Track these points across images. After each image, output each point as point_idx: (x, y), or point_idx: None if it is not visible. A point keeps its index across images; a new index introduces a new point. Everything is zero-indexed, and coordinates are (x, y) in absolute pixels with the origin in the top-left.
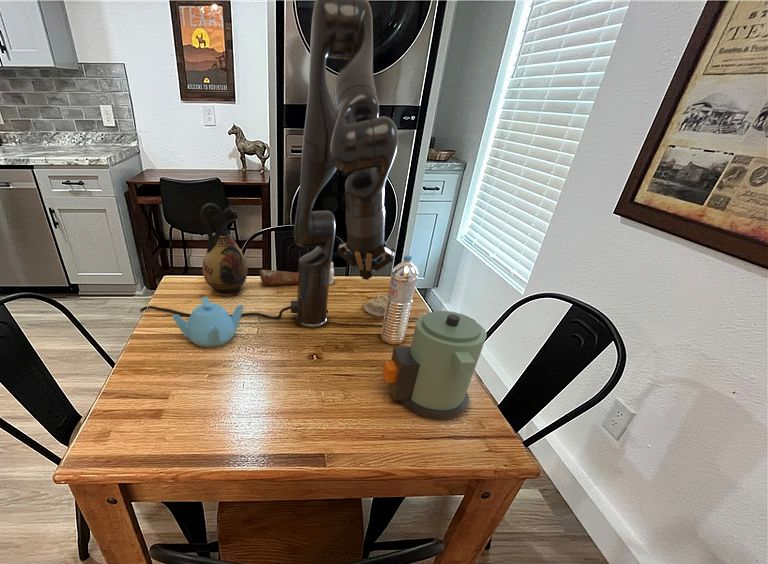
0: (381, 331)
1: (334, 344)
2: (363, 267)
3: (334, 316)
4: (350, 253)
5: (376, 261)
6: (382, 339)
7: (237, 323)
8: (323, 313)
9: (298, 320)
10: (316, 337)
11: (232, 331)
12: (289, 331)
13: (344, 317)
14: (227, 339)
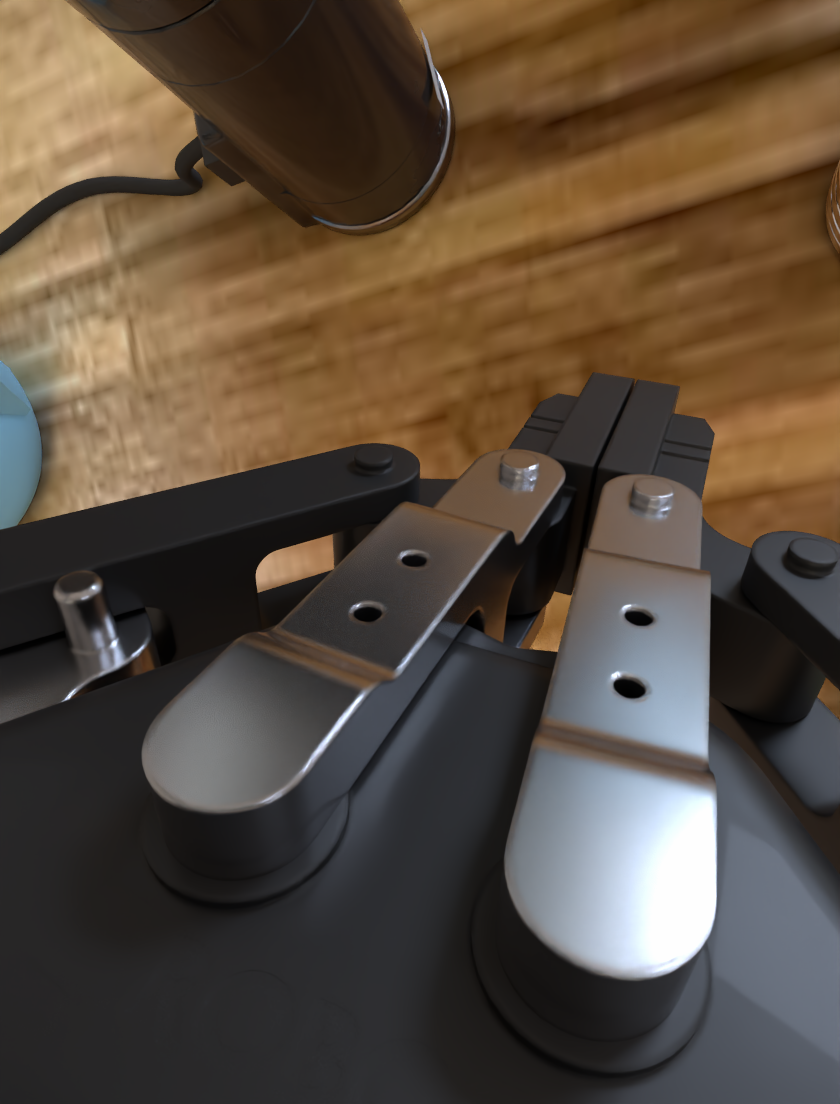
0: (831, 188)
1: (524, 374)
2: (533, 639)
3: (500, 32)
4: (224, 604)
5: (751, 635)
6: (835, 248)
7: (10, 399)
8: (411, 144)
9: (291, 214)
10: (419, 326)
11: (15, 461)
12: (274, 304)
13: (566, 19)
14: (22, 506)
